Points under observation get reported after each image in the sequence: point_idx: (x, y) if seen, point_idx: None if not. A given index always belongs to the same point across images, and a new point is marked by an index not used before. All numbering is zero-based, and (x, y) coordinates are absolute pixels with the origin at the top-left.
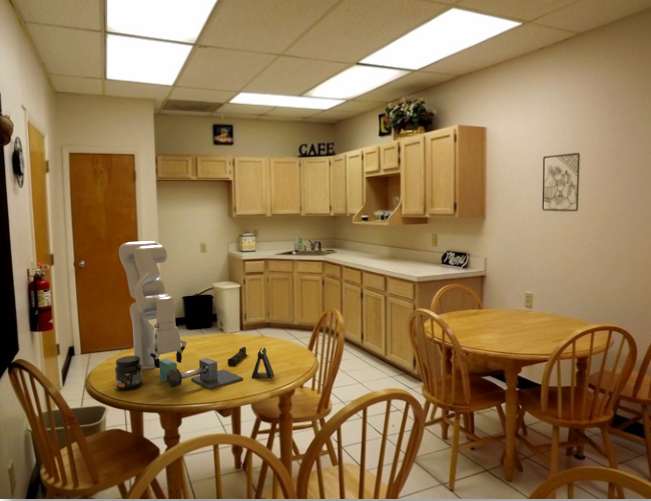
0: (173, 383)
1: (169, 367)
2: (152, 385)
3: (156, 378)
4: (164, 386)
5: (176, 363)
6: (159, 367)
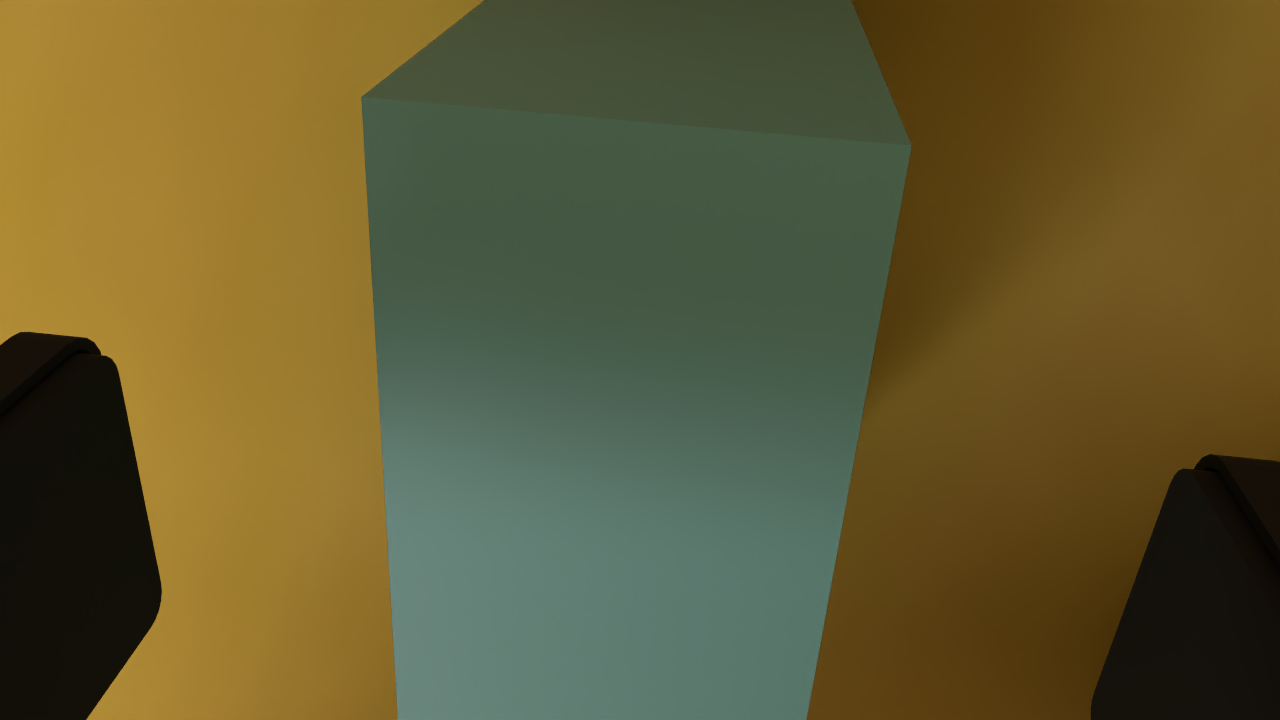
0: None
1: (852, 97)
2: (1078, 377)
3: None
4: (942, 50)
5: (371, 91)
6: (1195, 473)
